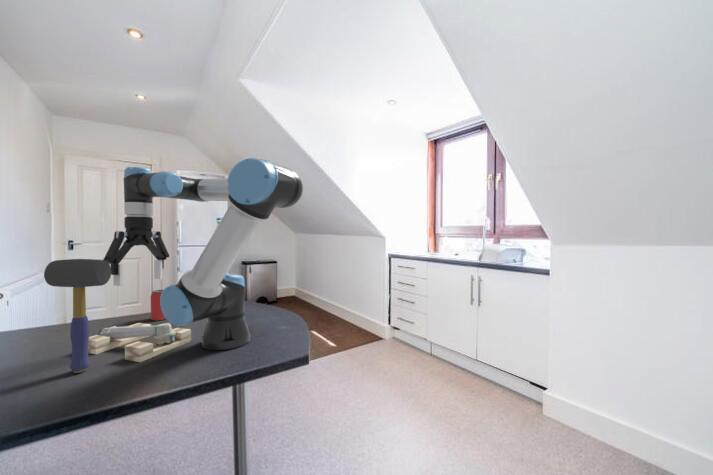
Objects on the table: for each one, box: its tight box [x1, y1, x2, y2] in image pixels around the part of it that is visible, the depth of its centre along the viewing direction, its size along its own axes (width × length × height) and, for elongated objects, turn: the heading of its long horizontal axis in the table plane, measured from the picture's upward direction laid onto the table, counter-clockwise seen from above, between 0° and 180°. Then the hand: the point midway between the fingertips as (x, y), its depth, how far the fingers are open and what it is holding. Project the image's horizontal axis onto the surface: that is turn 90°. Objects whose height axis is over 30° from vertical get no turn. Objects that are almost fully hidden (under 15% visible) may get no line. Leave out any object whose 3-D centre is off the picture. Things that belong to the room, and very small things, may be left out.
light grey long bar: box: [97, 322, 176, 345], centre depth 101 cm, size 5×7×25 cm
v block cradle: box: [88, 322, 192, 363], centre depth 101 cm, size 24×18×4 cm
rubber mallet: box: [43, 258, 112, 374], centre depth 83 cm, size 12×8×30 cm, turn 98°
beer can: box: [150, 289, 167, 322], centre depth 132 cm, size 7×7×12 cm
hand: (139, 282), depth 101 cm, fingers open, 13 cm apart
